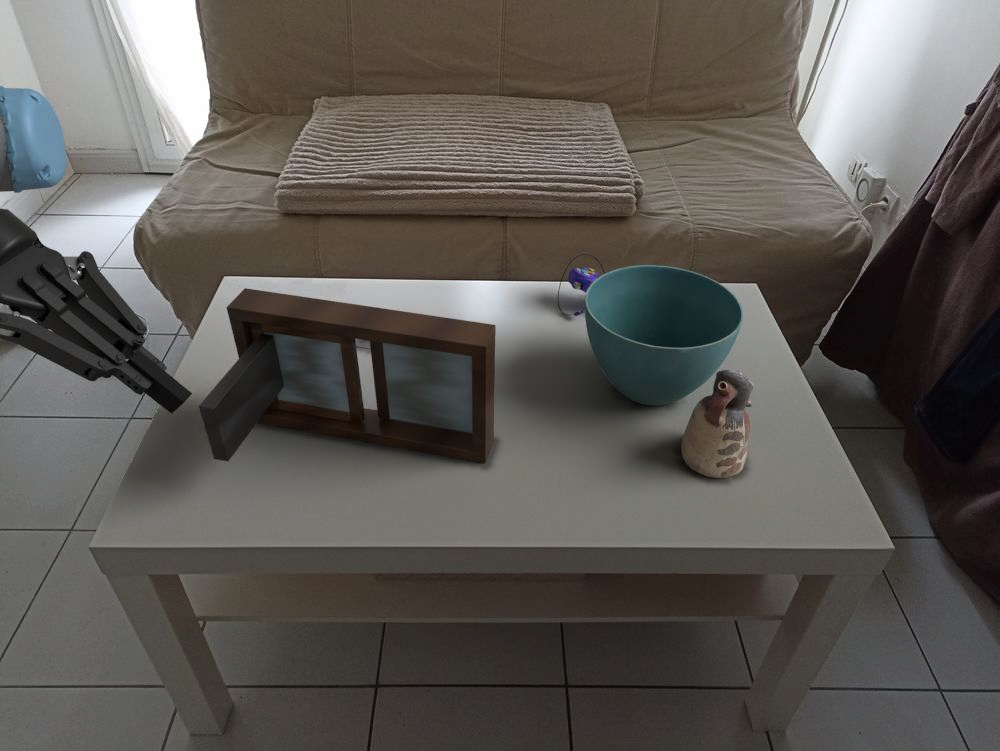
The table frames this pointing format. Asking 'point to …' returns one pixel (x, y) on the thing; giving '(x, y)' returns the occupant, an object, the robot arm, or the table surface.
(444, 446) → the window frame
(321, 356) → the sliding pane
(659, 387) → the teal bowl
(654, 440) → the table surface
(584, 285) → the game controller
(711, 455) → the figurine
